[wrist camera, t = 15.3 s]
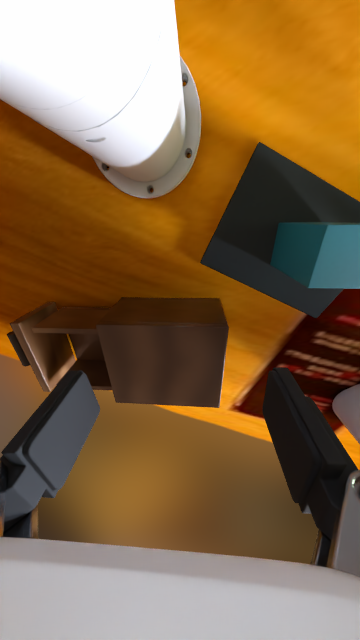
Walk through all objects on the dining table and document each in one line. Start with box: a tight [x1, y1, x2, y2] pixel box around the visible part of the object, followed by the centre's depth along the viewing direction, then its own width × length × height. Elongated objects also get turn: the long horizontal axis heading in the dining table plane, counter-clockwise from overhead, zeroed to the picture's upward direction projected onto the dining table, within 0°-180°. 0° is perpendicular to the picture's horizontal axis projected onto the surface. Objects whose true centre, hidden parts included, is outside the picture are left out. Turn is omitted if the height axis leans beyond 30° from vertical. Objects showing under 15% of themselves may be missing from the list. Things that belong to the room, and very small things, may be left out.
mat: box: [200, 142, 360, 318], centre depth 25 cm, size 20×14×1 cm
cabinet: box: [96, 297, 229, 408], centre depth 29 cm, size 16×14×9 cm
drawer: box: [7, 302, 112, 392], centre depth 30 cm, size 19×12×7 cm, turn 91°
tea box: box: [270, 222, 360, 289], centre depth 20 cm, size 5×5×10 cm
